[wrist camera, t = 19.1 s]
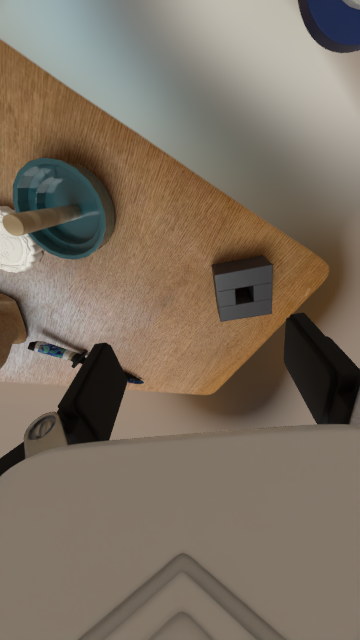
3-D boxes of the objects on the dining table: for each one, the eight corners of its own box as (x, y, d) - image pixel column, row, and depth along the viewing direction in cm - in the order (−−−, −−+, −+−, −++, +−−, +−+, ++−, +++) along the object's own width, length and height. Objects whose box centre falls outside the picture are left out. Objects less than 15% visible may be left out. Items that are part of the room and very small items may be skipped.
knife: (34, 337, 54) (24, 350, 50) (38, 330, 52) (28, 342, 49) (139, 380, 65) (138, 392, 62) (145, 374, 64) (143, 387, 60)
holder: (211, 264, 44) (214, 275, 38) (262, 255, 42) (272, 264, 37) (217, 307, 49) (220, 321, 44) (263, 300, 47) (271, 313, 42)
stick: (65, 206, 38) (-3, 216, 24) (77, 202, 38) (15, 212, 24) (71, 220, 39) (10, 238, 26) (83, 217, 39) (27, 234, 25)
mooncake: (-13, 259, 45) (-28, 264, 42) (-27, 196, 38) (-46, 196, 35) (46, 274, 46) (36, 280, 43) (41, 215, 40) (29, 218, 37)
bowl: (19, 174, 36) (-8, 172, 31) (97, 151, 34) (81, 145, 29) (61, 256, 44) (44, 266, 39) (126, 242, 42) (118, 250, 37)
